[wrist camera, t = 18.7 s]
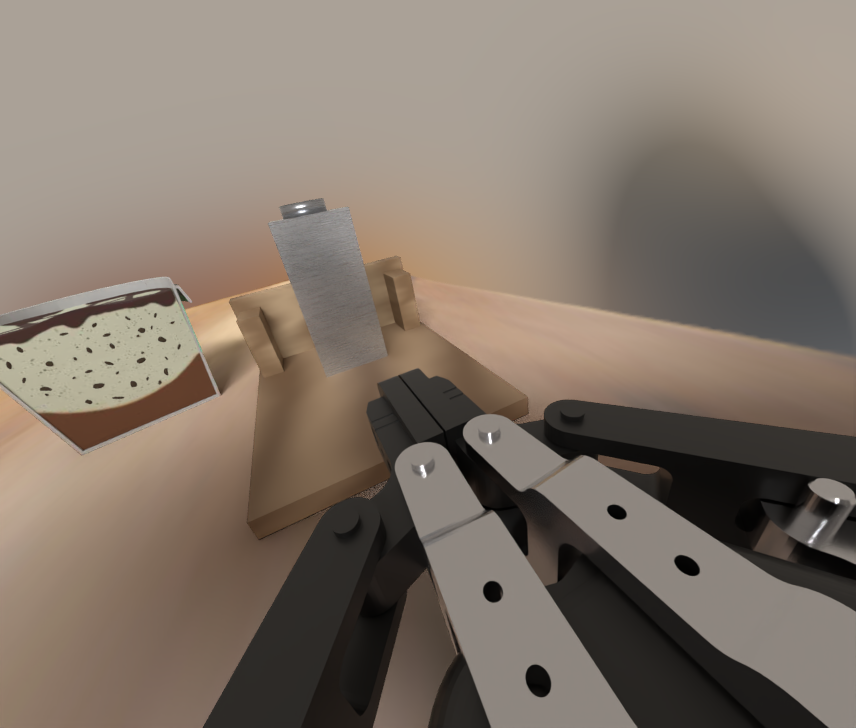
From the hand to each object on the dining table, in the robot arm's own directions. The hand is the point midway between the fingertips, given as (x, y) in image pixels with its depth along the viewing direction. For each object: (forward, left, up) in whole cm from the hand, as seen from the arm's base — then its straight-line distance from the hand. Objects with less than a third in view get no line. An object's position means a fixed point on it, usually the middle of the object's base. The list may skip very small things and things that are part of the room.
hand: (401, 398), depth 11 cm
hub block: (0, +17, -5) cm, 18 cm away
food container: (-16, +22, -6) cm, 28 cm away
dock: (0, +12, -6) cm, 14 cm away
